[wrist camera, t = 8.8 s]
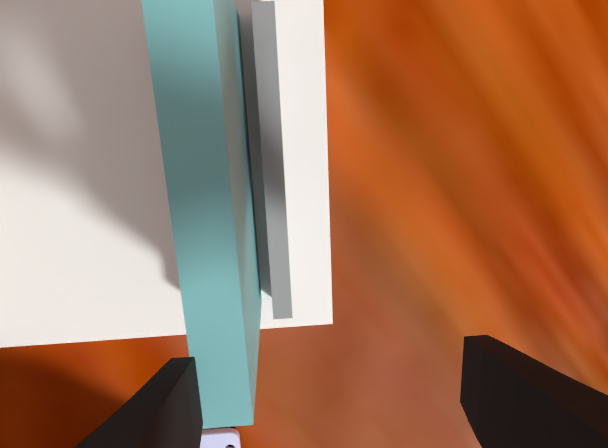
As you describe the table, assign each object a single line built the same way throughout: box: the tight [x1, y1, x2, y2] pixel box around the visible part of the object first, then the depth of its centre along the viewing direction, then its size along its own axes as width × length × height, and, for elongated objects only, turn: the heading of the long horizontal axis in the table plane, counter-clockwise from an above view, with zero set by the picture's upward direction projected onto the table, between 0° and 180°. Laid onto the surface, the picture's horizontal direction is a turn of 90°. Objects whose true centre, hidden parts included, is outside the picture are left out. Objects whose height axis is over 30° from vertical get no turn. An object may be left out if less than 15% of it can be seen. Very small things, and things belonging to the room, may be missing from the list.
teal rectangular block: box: [141, 0, 262, 429], centre depth 14 cm, size 12×2×8 cm, turn 3°
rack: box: [0, 0, 333, 348], centre depth 17 cm, size 15×24×4 cm, turn 93°
